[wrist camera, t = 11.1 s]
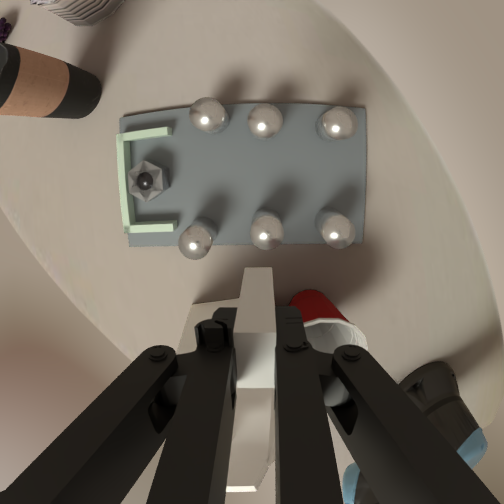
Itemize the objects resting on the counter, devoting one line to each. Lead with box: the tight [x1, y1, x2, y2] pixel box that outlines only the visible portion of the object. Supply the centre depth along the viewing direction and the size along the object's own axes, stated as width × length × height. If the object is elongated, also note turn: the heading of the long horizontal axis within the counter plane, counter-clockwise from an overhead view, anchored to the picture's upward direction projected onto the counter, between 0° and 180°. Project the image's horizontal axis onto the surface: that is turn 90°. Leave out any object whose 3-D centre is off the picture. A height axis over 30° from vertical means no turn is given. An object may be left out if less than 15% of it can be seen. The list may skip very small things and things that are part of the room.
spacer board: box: [120, 103, 366, 247], centre depth 35 cm, size 18×32×1 cm, turn 91°
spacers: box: [178, 97, 358, 260], centre depth 32 cm, size 18×20×6 cm
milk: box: [176, 298, 275, 492], centre depth 31 cm, size 12×12×26 cm
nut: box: [128, 159, 170, 202], centre depth 34 cm, size 5×4×3 cm
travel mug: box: [0, 42, 101, 119], centre depth 22 cm, size 8×8×20 cm
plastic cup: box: [289, 290, 368, 354], centre depth 36 cm, size 11×11×12 cm
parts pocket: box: [116, 127, 178, 233], centre depth 34 cm, size 13×7×2 cm, turn 1°
